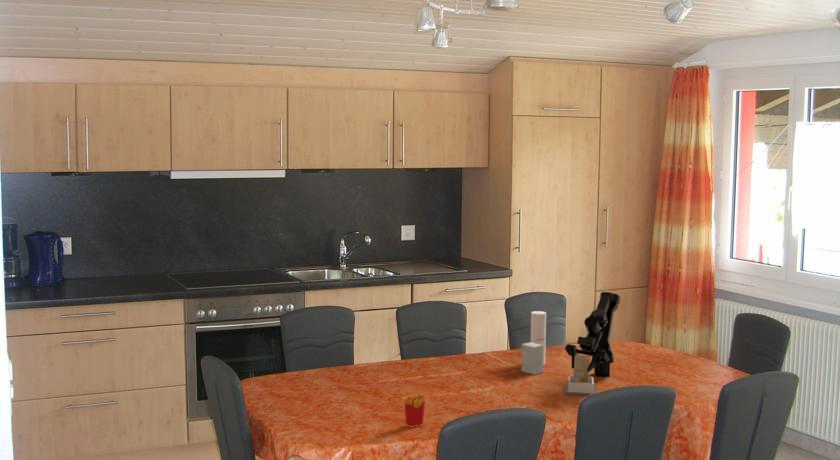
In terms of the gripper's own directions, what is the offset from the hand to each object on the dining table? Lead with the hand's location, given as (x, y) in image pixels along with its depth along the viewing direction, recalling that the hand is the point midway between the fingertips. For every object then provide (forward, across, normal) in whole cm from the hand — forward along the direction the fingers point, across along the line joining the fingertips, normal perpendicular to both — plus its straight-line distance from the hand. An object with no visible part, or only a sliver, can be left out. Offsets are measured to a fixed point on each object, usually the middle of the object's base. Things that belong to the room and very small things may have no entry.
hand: (580, 369), depth 350 cm
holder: (+6, 0, +8) cm, 10 cm away
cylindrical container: (-11, -36, +26) cm, 46 cm away
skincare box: (+4, 0, +6) cm, 7 cm away
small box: (-2, -31, +16) cm, 35 cm away
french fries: (+60, -30, -47) cm, 82 cm away
